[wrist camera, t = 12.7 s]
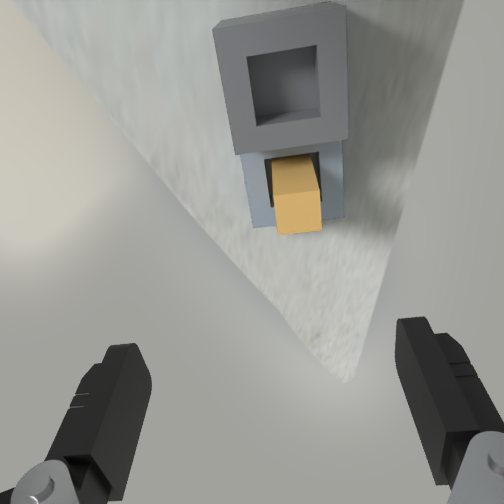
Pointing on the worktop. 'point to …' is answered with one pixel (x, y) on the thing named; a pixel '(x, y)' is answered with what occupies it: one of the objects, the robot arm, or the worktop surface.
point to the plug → (296, 194)
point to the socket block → (287, 98)
